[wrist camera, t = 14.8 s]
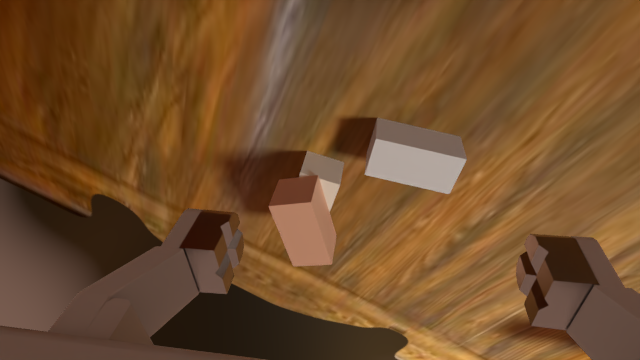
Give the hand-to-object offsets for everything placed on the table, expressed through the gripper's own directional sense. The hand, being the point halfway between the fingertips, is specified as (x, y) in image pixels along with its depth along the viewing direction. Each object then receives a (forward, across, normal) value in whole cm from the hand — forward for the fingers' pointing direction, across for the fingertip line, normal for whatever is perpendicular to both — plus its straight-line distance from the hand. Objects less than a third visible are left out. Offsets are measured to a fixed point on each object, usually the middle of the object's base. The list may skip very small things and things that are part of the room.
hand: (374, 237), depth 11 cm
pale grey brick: (+33, -4, +17) cm, 38 cm away
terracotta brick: (+28, +8, +24) cm, 38 cm away
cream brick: (+33, +8, +24) cm, 42 cm away
